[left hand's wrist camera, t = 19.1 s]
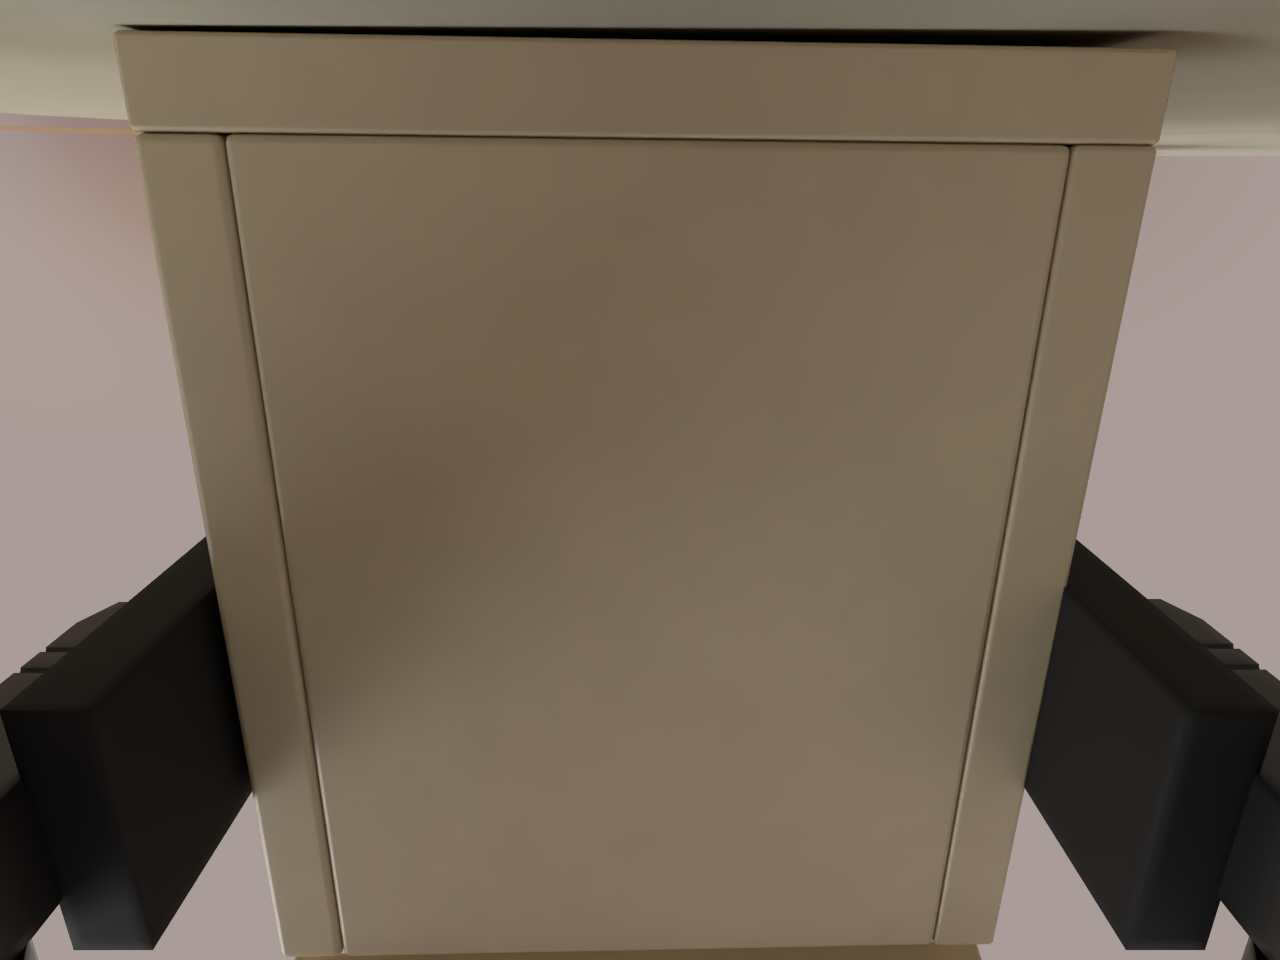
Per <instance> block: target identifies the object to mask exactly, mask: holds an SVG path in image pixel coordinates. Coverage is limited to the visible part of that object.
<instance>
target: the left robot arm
mask: <svg viewBox="0 0 1280 960" xmlns="http://www.w3.org/2000/svg"><path fill="white" fill-rule="evenodd" d="M1025 789H1026V791H1027V792H1028V794H1029V795H1030V797H1031V799H1032V800H1033V802H1034V803H1035V805H1036V807H1037V808H1038V810H1039V811H1040V813H1041V814H1042V816H1043V818H1044V819H1045V821H1046V823H1047V824H1048V826H1049V827H1050V829H1051V831H1052V832H1053V834H1054V835H1055V837H1056V839H1057V840H1058V842H1059V843H1060V845H1061V847H1062V848H1063V850H1064V851H1065V853H1066V854H1067V856H1068V858H1069V859H1070V861H1071V863H1072V864H1073V866H1074V867H1075V869H1076V871H1077V872H1078V874H1079V875H1080V877H1081V879H1082V880H1083V882H1084V883H1085V885H1086V887H1087V888H1088V890H1089V891H1090V893H1091V895H1092V896H1093V898H1094V899H1095V901H1096V903H1097V904H1098V906H1099V907H1100V909H1101V911H1102V912H1103V914H1104V915H1105V917H1106V919H1107V920H1108V922H1109V923H1110V925H1111V927H1112V928H1113V930H1114V931H1115V933H1116V935H1117V936H1118V938H1119V939H1120V941H1121V943H1122V944H1123V946H1124V947H1125V949H1126V950H1205V948H1206V945H1207V942H1208V938H1209V935H1210V932H1211V929H1212V925H1213V922H1214V919H1215V916H1216V912H1217V909H1218V906H1219V903H1220V900H1221V901H1222V903H1223V904H1224V905H1225V906H1226V908H1227V909H1228V910H1229V911H1230V913H1231V914H1232V915H1233V916H1234V918H1235V919H1236V920H1237V921H1238V923H1239V924H1240V925H1241V926H1242V928H1243V929H1244V930H1245V931H1246V933H1247V934H1248V935H1249V939H1248V942H1247V945H1246V948H1245V951H1244V954H1243V957H1242V960H1280V681H1279V680H1278V679H1277V678H1275V677H1274V676H1273V675H1272V674H1270V673H1269V672H1268V671H1267V670H1260V669H1259V664H1258V663H1257V662H1255V661H1254V660H1253V659H1252V658H1250V657H1249V656H1248V655H1246V654H1245V653H1244V652H1243V651H1241V650H1240V649H1234V648H1233V643H1231V642H1230V641H1229V640H1228V639H1226V638H1225V637H1224V636H1223V635H1221V634H1220V633H1219V632H1218V631H1216V630H1215V629H1214V628H1213V627H1211V626H1210V625H1209V624H1207V623H1206V622H1205V621H1204V620H1202V619H1200V618H1198V617H1196V616H1194V615H1192V614H1190V613H1188V612H1186V611H1184V610H1182V609H1180V608H1178V607H1175V606H1173V605H1171V604H1169V603H1167V602H1165V601H1163V600H1161V599H1147V598H1145V597H1144V596H1143V595H1142V594H1141V593H1139V592H1138V591H1137V590H1136V589H1135V588H1133V587H1132V586H1131V585H1130V584H1129V583H1128V582H1126V581H1125V580H1124V579H1123V578H1122V577H1120V576H1119V575H1118V574H1117V573H1116V572H1114V571H1113V570H1112V569H1111V568H1110V567H1109V566H1107V565H1106V564H1105V563H1104V562H1103V561H1101V560H1100V559H1099V558H1098V557H1097V556H1095V555H1094V554H1093V553H1092V552H1091V551H1089V550H1088V549H1087V548H1086V547H1085V546H1083V545H1082V544H1081V543H1080V542H1079V541H1078V540H1076V542H1075V546H1074V551H1073V556H1072V561H1071V566H1070V571H1069V575H1068V580H1067V585H1066V587H1064V591H1063V596H1062V601H1061V606H1060V611H1059V616H1058V621H1057V626H1056V631H1055V636H1054V641H1053V647H1052V652H1051V657H1050V662H1049V667H1048V672H1047V677H1046V682H1045V687H1044V692H1043V697H1042V702H1041V707H1040V713H1039V718H1038V723H1037V728H1036V733H1035V738H1034V743H1033V748H1032V753H1031V758H1030V763H1029V768H1028V773H1027V778H1026V783H1025ZM251 792H252V787H251V781H250V776H249V770H248V764H247V759H246V753H245V748H244V742H243V737H242V731H241V726H240V720H239V715H238V709H237V704H236V698H235V693H234V687H233V682H232V676H231V671H230V665H229V660H228V654H227V649H226V643H225V638H224V632H223V627H222V621H221V616H220V610H219V605H218V599H217V593H216V588H215V582H214V577H213V571H212V566H211V560H210V555H209V549H208V544H207V538H206V537H205V538H204V539H202V540H201V541H200V542H199V543H198V544H196V545H195V546H194V547H193V548H192V549H190V550H189V551H188V552H187V553H186V554H185V555H183V556H182V557H181V558H180V559H179V560H177V561H176V562H175V563H174V564H173V565H171V566H170V567H169V568H168V569H167V570H165V571H164V572H163V573H162V574H161V575H160V576H158V577H157V578H156V579H155V580H154V581H152V582H151V583H150V584H149V585H148V586H146V587H145V588H144V589H143V590H142V591H141V592H139V593H138V594H137V595H136V596H135V597H133V598H132V599H131V600H130V601H129V602H118V603H116V604H114V605H112V606H110V607H108V608H106V609H104V610H102V611H100V612H98V613H96V614H94V615H92V616H90V617H88V618H86V619H84V620H82V621H80V622H78V623H76V624H75V625H73V626H72V627H71V628H70V629H68V630H67V631H66V632H65V633H63V634H62V635H61V636H60V637H58V638H57V639H56V640H55V641H53V642H52V643H51V644H50V645H48V646H47V647H46V652H40V653H39V654H37V655H36V656H35V657H33V658H32V659H31V660H30V661H29V662H27V663H26V664H25V665H24V666H22V667H21V671H20V673H14V674H12V675H11V676H10V677H9V678H7V679H6V680H5V681H4V682H2V683H1V684H0V960H38V957H37V954H36V951H35V948H34V945H33V942H32V937H33V936H34V935H35V934H36V932H37V931H38V930H39V928H40V927H41V926H42V925H43V923H44V922H45V921H46V920H47V918H48V917H49V916H50V915H51V913H52V912H53V911H54V910H55V908H56V907H57V906H58V905H59V904H60V907H61V910H62V914H63V917H64V920H65V923H66V926H67V929H68V933H69V936H70V939H71V942H72V945H73V949H74V950H153V949H154V947H155V946H156V944H157V942H158V941H159V939H160V938H161V936H162V934H163V933H164V931H165V930H166V928H167V926H168V925H169V923H170V921H171V920H172V918H173V917H174V915H175V914H176V912H177V910H178V909H179V907H180V906H181V904H182V902H183V901H184V899H185V897H186V896H187V894H188V893H189V891H190V890H191V888H192V886H193V885H194V883H195V882H196V880H197V878H198V877H199V875H200V874H201V872H202V870H203V869H204V867H205V866H206V864H207V862H208V861H209V859H210V858H211V856H212V854H213V853H214V851H215V850H216V848H217V846H218V845H219V843H220V842H221V840H222V838H223V837H224V835H225V834H226V832H227V830H228V829H229V827H230V826H231V824H232V822H233V821H234V819H235V818H236V816H237V814H238V813H239V811H240V810H241V808H242V806H243V805H244V803H245V802H246V800H247V798H248V797H249V795H250V794H251Z"/></svg>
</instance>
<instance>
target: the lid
mask: <svg viewBox="0 0 1280 960" xmlns="http://www.w3.org/2000/svg"><path fill="white" fill-rule="evenodd" d="M295 960H981V956H980V953H979V950H978V946H977V944H968V945H937V944H935V943H934V942H931V943H929V944H927V945H877V946H826V947H776V948H726V949H676V950H625V951H575V952H525V953H475V954H425V955H374V956H349V955H346V954H345V953H341V954H339V955H336V956H303V957H296V958H295Z"/></svg>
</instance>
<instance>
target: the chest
mask: <svg viewBox="0 0 1280 960" xmlns="http://www.w3.org/2000/svg"><path fill="white" fill-rule="evenodd" d="M113 38H114V44H115V49H116V55H117V60H118V66H119V71H120V77H121V82H122V88H123V93H124V99H125V104H126V110H127V115H128V121H129V125H130V127H131V129H133V130H135V131H137V132H144V133H141V134H139V135H137V136H136V140H135V147H136V152H137V158H138V163H139V169H140V174H141V180H142V185H143V191H144V196H145V202H146V207H147V213H148V218H149V224H150V229H151V235H152V240H153V246H154V251H155V257H156V262H157V268H158V274H159V279H160V284H161V290H162V296H163V301H164V306H165V312H166V318H167V323H168V328H169V334H170V340H171V345H172V351H173V356H174V362H175V367H176V372H177V378H178V384H179V389H180V395H181V400H182V406H183V411H184V417H185V422H186V428H187V433H188V439H189V444H190V450H191V456H192V461H193V467H194V472H195V478H196V483H197V489H198V494H199V500H200V505H201V511H202V516H203V521H204V527H205V533H206V538H207V544H208V549H209V555H210V560H211V566H212V571H213V577H214V582H215V588H216V593H217V599H218V605H219V610H220V616H221V621H222V627H223V632H224V638H225V643H226V649H227V654H228V660H229V665H230V671H231V676H232V682H233V687H234V693H235V698H236V704H237V709H238V715H239V720H240V726H241V731H242V737H243V742H244V748H245V753H246V759H247V764H248V770H249V776H250V781H251V787H252V792H253V797H254V803H255V809H256V814H257V820H258V825H259V831H260V836H261V842H262V847H263V853H264V858H265V863H266V869H267V875H268V880H269V886H270V891H271V897H272V902H273V908H274V913H275V919H276V924H277V930H278V935H279V941H280V947H281V952H282V954H283V955H284V956H287V957H303V956H336V955H339V954H340V953H341V952H342V951H343V948H344V952H345V954H346V955H349V956H374V955H425V954H475V953H525V952H575V951H625V950H676V949H726V948H776V947H826V946H877V945H927V944H929V943H931V942H932V940H933V941H934V943H935V944H937V945H968V944H990V943H992V942H993V937H994V933H995V928H996V923H997V918H998V913H999V908H1000V904H1001V899H1002V894H1003V889H1004V884H1005V879H1006V874H1007V870H1008V865H1009V860H1010V855H1011V851H1012V846H1013V841H1014V836H1015V831H1016V826H1017V821H1018V817H1019V812H1020V807H1021V802H1022V797H1023V793H1024V788H1025V783H1026V778H1027V773H1028V768H1029V763H1030V758H1031V753H1032V748H1033V743H1034V738H1035V733H1036V728H1037V723H1038V718H1039V713H1040V707H1041V702H1042V697H1043V692H1044V687H1045V682H1046V677H1047V672H1048V667H1049V662H1050V657H1051V652H1052V647H1053V641H1054V636H1055V631H1056V626H1057V621H1058V616H1059V611H1060V606H1061V601H1062V596H1063V591H1064V587H1066V585H1067V580H1068V575H1069V571H1070V566H1071V561H1072V556H1073V551H1074V546H1075V542H1076V537H1077V532H1078V527H1079V522H1080V518H1081V513H1082V508H1083V503H1084V498H1085V493H1086V488H1087V484H1088V479H1089V474H1090V469H1091V464H1092V460H1093V455H1094V450H1095V445H1096V440H1097V435H1098V430H1099V426H1100V421H1101V416H1102V411H1103V406H1104V402H1105V397H1106V392H1107V387H1108V382H1109V377H1110V373H1111V368H1112V363H1113V358H1114V353H1115V349H1116V344H1117V339H1118V334H1119V329H1120V324H1121V320H1122V315H1123V310H1124V305H1125V300H1126V295H1127V291H1128V286H1129V281H1130V276H1131V271H1132V266H1133V262H1134V257H1135V252H1136V247H1137V242H1138V238H1139V233H1140V228H1141V223H1142V218H1143V213H1144V209H1145V204H1146V199H1147V194H1148V189H1149V184H1150V180H1151V175H1152V170H1153V165H1154V160H1155V156H1156V148H1154V147H1152V146H1150V145H1153V144H1156V143H1157V142H1158V141H1159V139H1160V134H1161V129H1162V124H1163V120H1164V115H1165V110H1166V105H1167V100H1168V95H1169V91H1170V86H1171V81H1172V76H1173V71H1174V66H1175V62H1176V57H1177V52H1176V51H1175V50H1173V49H1164V48H1108V47H1051V46H994V45H938V44H881V43H824V42H767V41H711V40H654V39H597V38H541V37H484V36H427V35H371V34H314V33H257V32H201V31H144V30H118V31H116V32H114V34H113Z"/></svg>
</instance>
